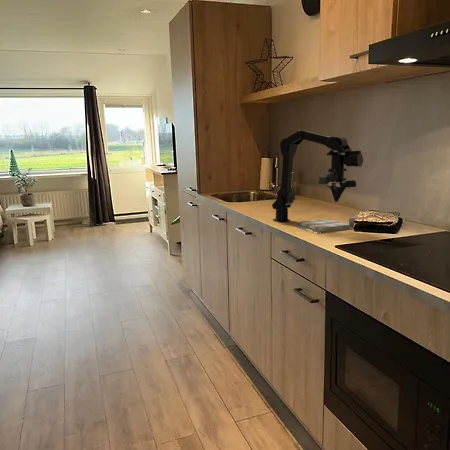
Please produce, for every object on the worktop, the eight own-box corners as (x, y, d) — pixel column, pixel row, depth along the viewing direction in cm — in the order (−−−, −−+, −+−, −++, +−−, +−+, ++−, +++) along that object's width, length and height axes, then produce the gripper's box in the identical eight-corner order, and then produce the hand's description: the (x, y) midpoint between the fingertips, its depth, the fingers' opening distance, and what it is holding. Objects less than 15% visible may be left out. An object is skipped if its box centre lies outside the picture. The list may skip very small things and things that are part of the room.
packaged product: (366, 219, 184) (344, 217, 190) (366, 230, 185) (344, 227, 191) (377, 212, 199) (356, 211, 205) (376, 222, 200) (355, 220, 206)
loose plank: (299, 224, 194) (299, 221, 194) (316, 222, 198) (317, 219, 198) (320, 231, 180) (320, 227, 179) (338, 229, 184) (339, 226, 183)
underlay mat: (292, 225, 194) (292, 224, 194) (325, 221, 202) (325, 221, 202) (316, 233, 177) (316, 233, 177) (352, 229, 185) (352, 228, 185)
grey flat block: (317, 222, 198) (317, 219, 198) (327, 221, 200) (327, 218, 200) (339, 229, 184) (339, 225, 183) (349, 228, 186) (350, 224, 186)
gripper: (309, 165, 187) (308, 200, 190) (336, 168, 171) (335, 205, 174) (329, 164, 192) (328, 198, 195) (358, 167, 175) (356, 204, 178)
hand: (336, 201), depth 185 cm, fingers closed
